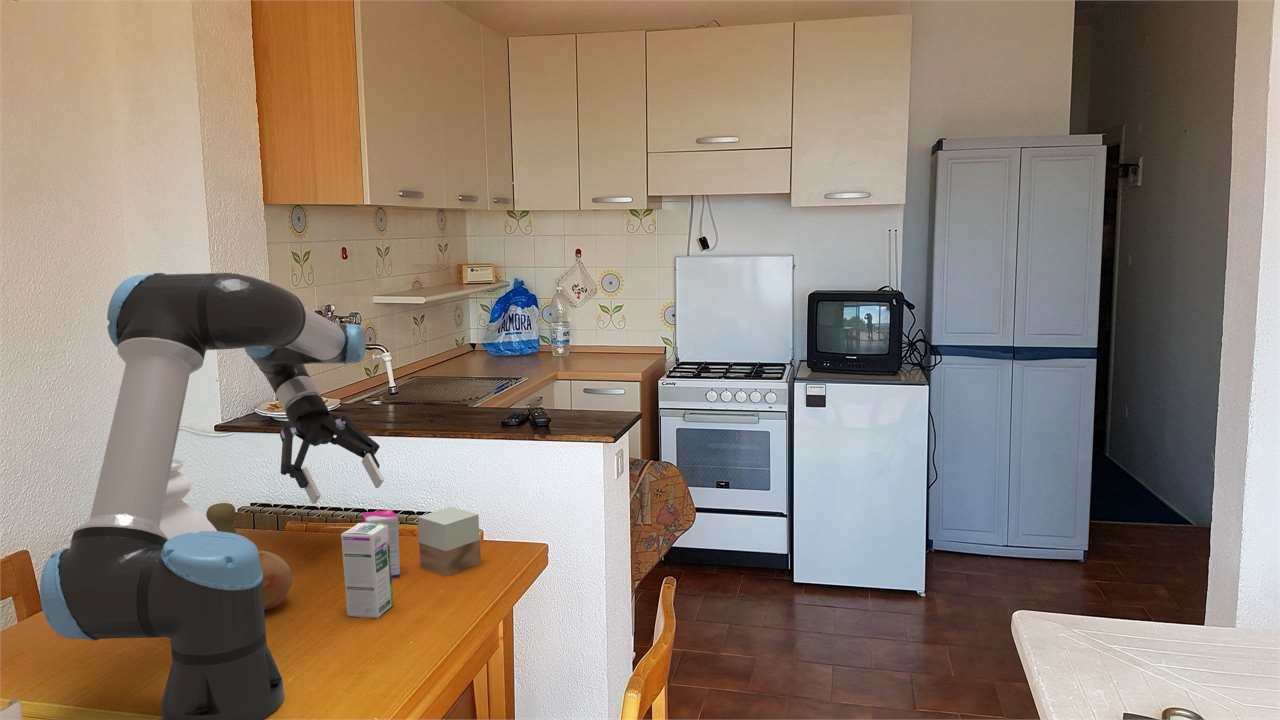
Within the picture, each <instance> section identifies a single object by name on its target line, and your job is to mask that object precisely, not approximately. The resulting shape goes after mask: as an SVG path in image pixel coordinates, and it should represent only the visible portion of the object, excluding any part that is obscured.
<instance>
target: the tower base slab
mask: <svg viewBox="0 0 1280 720" xmlns="http://www.w3.org/2000/svg"><path fill="white" fill-rule="evenodd" d="M418 544H419V562H420V563H419V564H420V568H423V569H425V570H429V571H430V572H431V571H432V572H434V573H437V574H439V575H442V576H444V577H449V576H451V575H455V574H458V573H460V572H463V571H464V572H465V571H466V570H469V569H472V568H475V567H477V566H480V565H482V563H481V562H482V561H481V560H482V559H481V540H480V539H479V540H477V541H475V542H472V543H469V544H466V545H463V546H460V547H457V548H454V549H451V550H448V551H443V550H440V549H437V548H434V547H431V546H428V545H425V544H422V543H419V542H418Z"/></svg>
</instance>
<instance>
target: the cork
mask: <svg viewBox="0 0 1280 720" xmlns="http://www.w3.org/2000/svg"><path fill="white" fill-rule="evenodd" d="M235 507H236V506H234V505H233V504H232V503H229V502H219V503H214V504H212V505H210V506H208V508H207V510H206V513H205V514H206V519H207V520H208V521H209V522H210V523H211V524H212V525H213V526H214V527H215V529H216V530H217V531H220V532H228V533H234V534H237V532H236V525H235V522H234V519H235V517H236V513H237V512H236V511H237V510H236V508H235Z"/></svg>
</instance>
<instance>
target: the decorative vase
mask: <svg viewBox="0 0 1280 720" xmlns="http://www.w3.org/2000/svg"><path fill="white" fill-rule="evenodd" d="M183 467H184V461H183V460H181V459H179V458H173V461H172V466H171V471H170V476H169V481H168V486H167V491H166V496H165V501H164V506H163V511H162V516H161V521H160V526H159V527H160V529H161V530H162V532H163V533H164V534H165V535H166V536H167V538H168V540H169V539H171V538H173V537H175V536H178V535H181V534H186V533H198V532H200V531H217V530H216V529H215V527H214V526H213V525H212V524H211V523H210V522H209V521H208V519H207V517H205V516H204V515H203V514H202V513H200V512H199V511H198V510H196V509H195V508H194V507H192V506H191V505H189V504H188V503H186V502H185V501H183V499H184V498H185V497H186V496H187V495H188V493H189V492H190V491H191V488H192V482H191V479H190V478H189V477H188V476H187V475H185V474H184V473H182V472H180V469H182V468H183Z"/></svg>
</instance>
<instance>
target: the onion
mask: <svg viewBox="0 0 1280 720" xmlns="http://www.w3.org/2000/svg"><path fill="white" fill-rule="evenodd" d="M258 552H259V558H260V565H261V569H262V571H263V580H262V583H263V598H264V611H265V610H269V609H273V608H275V607H276V608H277V607H278V606H279V605H280V604H281V603H282V602H283V601H284V600H285V599H286V597H287V595H288V592H289V591H290V588H291V586H292V583H293V576H292V575H293V574H292V570H291V568H290V566H289V564H288V563H287V562H286V561H285V560H284V559H283V558H282V557H280V556H279V555H278V554H275V553H273V552H270V551H266V550H258Z"/></svg>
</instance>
